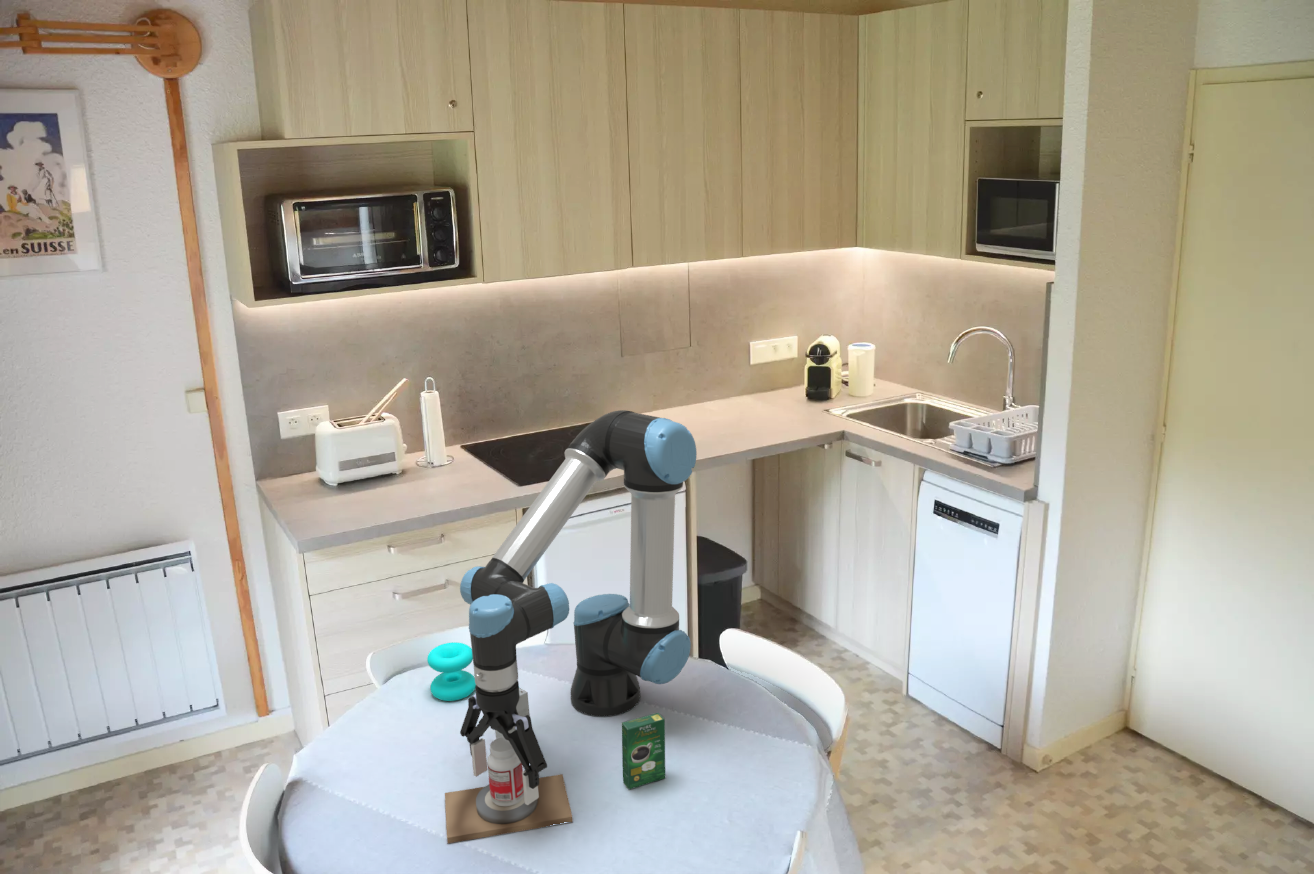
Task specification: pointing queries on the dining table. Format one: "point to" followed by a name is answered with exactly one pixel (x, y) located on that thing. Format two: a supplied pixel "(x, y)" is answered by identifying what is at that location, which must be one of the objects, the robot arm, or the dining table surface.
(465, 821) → the seat board
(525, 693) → the skincare box
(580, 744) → the dining table surface
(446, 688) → the donuts
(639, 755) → the coffee box
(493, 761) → the pill bottle
